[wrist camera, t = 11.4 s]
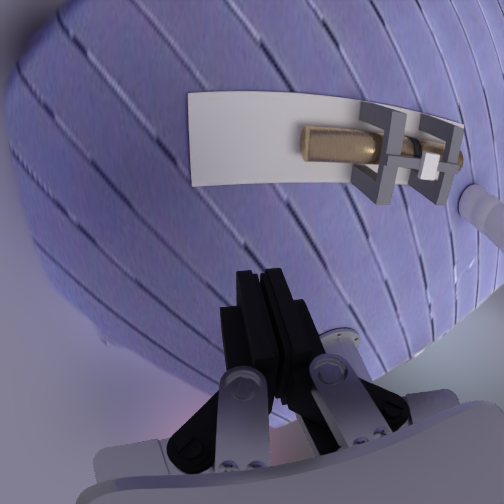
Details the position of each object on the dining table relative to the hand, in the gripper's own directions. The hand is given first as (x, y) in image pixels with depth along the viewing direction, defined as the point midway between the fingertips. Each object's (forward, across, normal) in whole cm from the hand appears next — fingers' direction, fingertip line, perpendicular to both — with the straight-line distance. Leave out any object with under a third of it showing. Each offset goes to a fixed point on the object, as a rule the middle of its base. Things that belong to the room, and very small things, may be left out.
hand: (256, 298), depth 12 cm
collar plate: (+25, -17, -1) cm, 30 cm away
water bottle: (+26, -45, +7) cm, 52 cm away
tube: (+24, -21, -1) cm, 32 cm away
